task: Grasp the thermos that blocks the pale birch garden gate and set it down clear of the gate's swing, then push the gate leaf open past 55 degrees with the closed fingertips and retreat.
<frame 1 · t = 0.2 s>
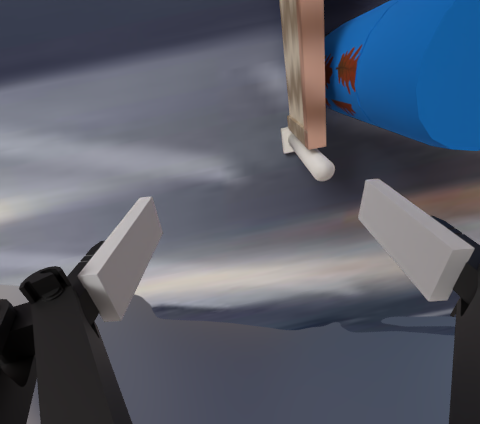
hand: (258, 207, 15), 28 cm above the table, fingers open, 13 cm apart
gate: (297, 28, 26), point 8 cm above the table, hinge at 0.0°
gate posts: (284, 33, 33), on the table
thermos: (342, 69, 35), on the table
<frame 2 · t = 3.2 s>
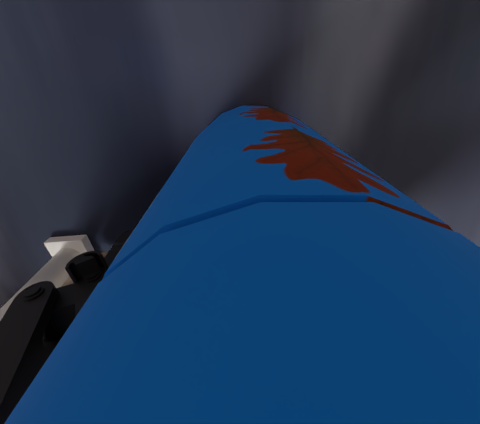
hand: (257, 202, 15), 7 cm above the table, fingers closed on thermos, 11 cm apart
gate: (194, 298, 19), point 8 cm above the table, hinge at 0.0°
gate posts: (201, 241, 26), on the table
thermos: (251, 166, 22), on the table, touching gripper
when the fingers open (8 cm above the table, at t = 9.7 s): thermos drops 1 cm, on the table.
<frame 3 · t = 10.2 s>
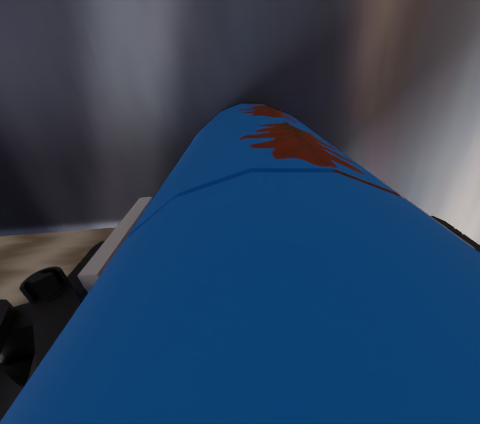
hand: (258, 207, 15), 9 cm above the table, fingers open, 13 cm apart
gate: (5, 280, 20), point 8 cm above the table, hinge at 0.0°
thermos: (249, 160, 23), on the table
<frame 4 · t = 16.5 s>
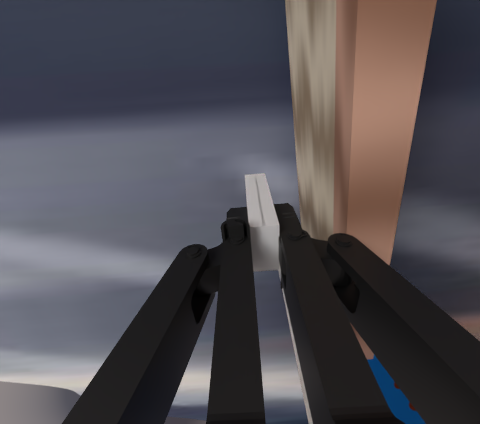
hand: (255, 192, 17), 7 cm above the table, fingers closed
gate: (324, 146, 14), point 8 cm above the table, hinge at 5.3°, touching gripper
gate posts: (284, 119, 21), on the table
thermos: (329, 287, 32), on the table
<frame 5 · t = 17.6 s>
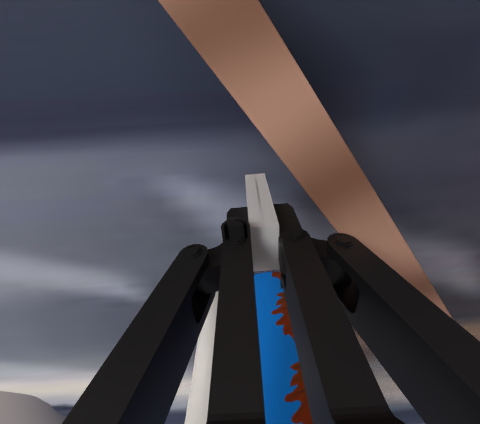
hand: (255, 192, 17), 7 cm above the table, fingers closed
gate: (293, 135, 14), point 8 cm above the table, hinge at 34.9°, touching gripper, hand
gate posts: (198, 143, 22), on the table
thermos: (270, 298, 33), on the table
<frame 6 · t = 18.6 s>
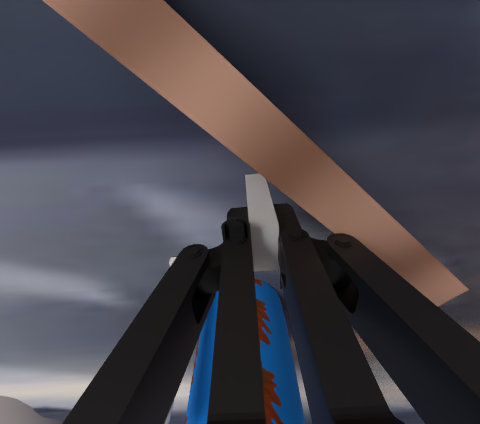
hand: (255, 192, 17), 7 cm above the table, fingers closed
gate: (263, 122, 13), point 8 cm above the table, hinge at 46.0°, touching gripper, hand
thermos: (243, 303, 33), on the table
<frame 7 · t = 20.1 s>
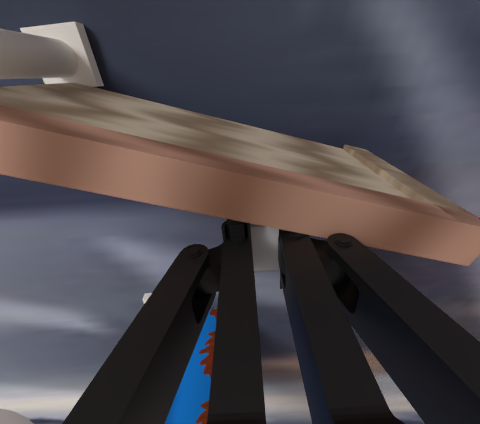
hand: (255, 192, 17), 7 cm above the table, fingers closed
gate: (224, 148, 14), point 8 cm above the table, hinge at 71.4°, touching gripper, hand
gate posts: (128, 213, 25), on the table
thermos: (214, 330, 36), on the table
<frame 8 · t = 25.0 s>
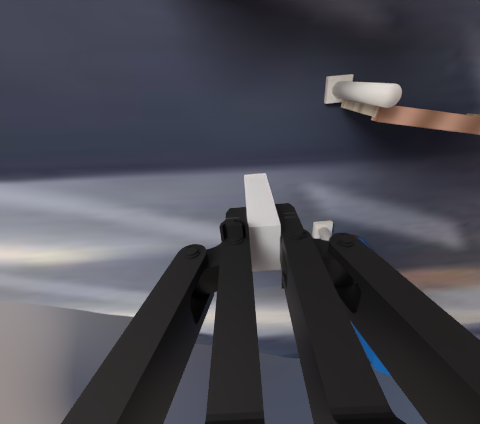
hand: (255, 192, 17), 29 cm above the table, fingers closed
gate: (435, 117, 35), point 8 cm above the table, hinge at 78.7°
gate posts: (328, 168, 47), on the table
thermos: (343, 251, 58), on the table
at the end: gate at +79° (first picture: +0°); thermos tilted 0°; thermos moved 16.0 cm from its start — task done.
